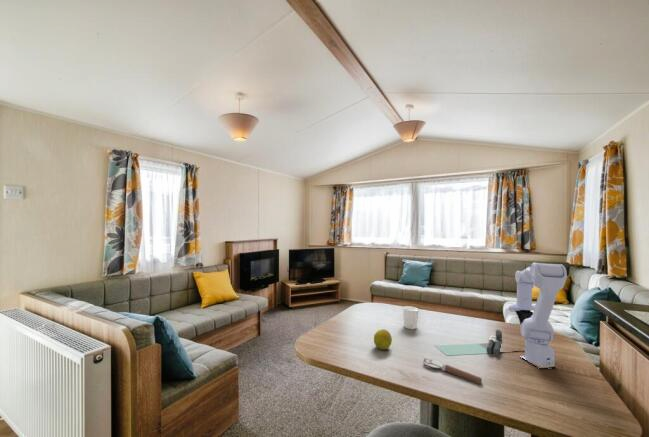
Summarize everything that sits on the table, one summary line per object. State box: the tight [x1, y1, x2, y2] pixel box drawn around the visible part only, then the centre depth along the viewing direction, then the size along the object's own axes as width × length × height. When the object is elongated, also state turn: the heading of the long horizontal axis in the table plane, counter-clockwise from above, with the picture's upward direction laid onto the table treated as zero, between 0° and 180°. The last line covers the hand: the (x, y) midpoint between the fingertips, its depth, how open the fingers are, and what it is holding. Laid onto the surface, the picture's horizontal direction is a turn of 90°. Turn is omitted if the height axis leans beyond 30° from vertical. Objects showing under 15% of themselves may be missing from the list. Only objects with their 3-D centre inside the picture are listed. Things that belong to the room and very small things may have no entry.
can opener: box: [487, 329, 503, 357], centre depth 125 cm, size 19×5×6 cm, turn 143°
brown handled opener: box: [422, 356, 483, 385], centre depth 103 cm, size 20×6×3 cm, turn 50°
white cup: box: [402, 305, 419, 330], centre depth 148 cm, size 8×8×10 cm
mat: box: [435, 342, 500, 357], centre depth 124 cm, size 9×39×1 cm, turn 99°
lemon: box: [373, 328, 393, 351], centre depth 122 cm, size 11×8×8 cm
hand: (523, 325), depth 127 cm, fingers closed
